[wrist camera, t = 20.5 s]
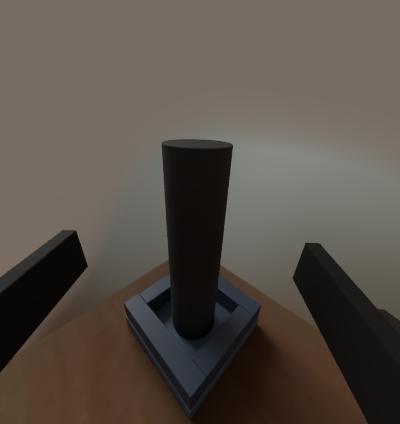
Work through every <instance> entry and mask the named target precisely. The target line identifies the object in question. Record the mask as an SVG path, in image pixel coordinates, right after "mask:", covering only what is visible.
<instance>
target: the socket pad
mask: <svg viewBox="0 0 400 424" xmlns="http://www.w3.org/2000/svg"><path fill="white" fill-rule="evenodd" d="M124 306H125V310H126V314H127V317H126V320H127V323H128V325H129V327H130V328H131V330H132V331H133V333H134V334H135V336H136V337H137V339H138V340H139V342H140V343H141V345H142V346H143V348H144V350H145V351H146V353H147V354H148V356H149V357H150V359H151V360H152V362H153V363H154V365H155V366H156V368H157V370H158V371H159V373H160V374H161V376H162V377H163V379H164V380H165V382H166V383H167V385H168V386H169V388H170V389H171V391H172V393H173V394H174V396H175V397H176V399H177V400H178V402H179V403H180V405H181V406H182V408H183V409H184V411H185V412H186V414H187V416H188V417H189V418H190V419H191V418H192V416H193V415H194V413H195V412H196V411H197V409H198V408H199V406H200V405H201V404H202V402H203V401H204V399H205V398H206V396H207V395H208V394H209V392H210V391H211V389H212V388H213V387H214V385H215V384H216V382H217V381H218V379H219V378H220V377H221V375H222V374H223V372H224V371H225V370H226V368H227V367H228V365H229V364H230V362H231V361H232V360H233V358H234V357H235V355H236V354H237V352H238V351H239V350H240V348H241V347H242V345H243V344H244V343H245V341H246V340H247V338H248V337H249V335H250V334H251V333H252V331H253V330H254V328H255V327H256V326H257V323H258V320H259V318H258V315H259V311H260V308H261V305H260V304H259V303H257V302H256V301H255V300H253V299H252V298H250V297H249V296H248V295H246V294H245V293H243V292H242V291H241V290H239V289H238V288H236V287H235V286H234V285H232V284H231V283H229V282H228V281H227V280H225V279H224V278H222V277H221V276H220V275H219V279H218V288H217V298H216V307H215V316H214V324H213V327H212V329H211V331H210V332H209V333H208V334H207V335H206V336H205V337H203V338H201V339H198V340H188V339H185V338H183V337H181V336H180V335H179V334H178V333H177V332H176V330H175V328H174V326H173V319H172V303H171V287H170V274H169V275H167V276H166V277H164V278H162V279H161V280H159V281H158V282H156V283H155V284H153V285H152V286H150V287H149V288H147V289H146V290H144V291H142V292H141V293H140V294H138V295H136V296H135V297H133V298H132V299H130V300H128V301H127V302H125V303H124Z"/></svg>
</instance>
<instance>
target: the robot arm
mask: <svg viewBox="0 0 400 424" xmlns="http://www.w3.org/2000/svg"><path fill="white" fill-rule="evenodd" d="M87 267H88V265H87V262H86V259H85V256H84V253H83V250H82V247H81V244H80V242H79V238H78V235H77V232H76V231H74V230H62V231H61V232H60V233H58V234H57V235H56V236H54V237H53V238H52V239H50V240H49V241H48V242H47V243H45V244H44V245H42V246H41V247H40V248H38V249H37V250H36V251H35V252H33V253H32V254H31V255H29V256H28V257H27V258H25V259H24V260H23V261H21V262H20V263H19V264H17V265H16V266H15V267H13V268H12V269H11V270H9V271H8V272H7V273H6V274H4V275H3V276H1V277H0V372H1V371H2V370H3V369H4V367H5V366H6V365H7V364H8V362H9V361H10V360H11V359H12V358H13V356H14V355H15V354H16V353H17V351H18V350H19V349H20V348H21V347H22V345H23V344H24V343H25V342H26V340H27V339H28V338H29V337H30V336H31V335H32V333H33V332H34V331H35V330H36V329H37V327H38V326H39V325H40V324H41V323H42V321H43V320H44V319H45V318H46V316H47V315H48V314H49V313H50V312H51V310H52V309H53V308H54V307H55V306H56V304H57V303H58V302H59V301H60V299H61V298H62V297H63V296H64V295H65V293H66V292H67V291H68V290H69V289H70V287H71V286H72V285H73V284H74V283H75V281H76V280H77V279H78V278H79V277H80V275H81V274H82V273H83V272H84V270H85V269H86V268H87ZM293 280H294V282H295V284H296V285H297V288H298V290H299V292H300V293H301V295H302V297H303V299H304V301H305V303H306V305H307V307H308V309H309V311H310V313H311V315H312V317H313V318H314V320H315V322H316V324H317V326H318V328H319V330H320V332H321V334H322V336H323V338H324V340H325V342H326V343H327V345H328V347H329V349H330V351H331V353H332V355H333V357H334V359H335V361H336V363H337V365H338V366H339V368H340V370H341V372H342V374H343V376H344V378H345V380H346V382H347V384H348V386H349V388H350V390H351V391H352V393H353V395H354V397H355V399H356V401H357V403H358V405H359V407H360V409H361V411H362V413H363V415H364V416H365V418H366V420H367V422H368V424H400V321H399V320H398V319H396V318H395V317H394V316H392V315H391V314H390V313H388V312H387V311H385V310H382V309H377V308H376V307H375V306H374V305H373V304H372V302H371V301H370V300H369V299H368V298H367V297H366V296H365V294H364V293H363V292H362V291H361V290H360V289H359V288H358V287H357V285H356V284H355V283H354V282H353V281H352V280H351V279H350V277H349V276H348V275H347V274H346V273H345V272H344V271H343V270H342V268H341V267H340V266H339V265H338V264H337V263H336V262H335V260H334V259H333V258H332V257H331V256H330V255H329V254H328V253H327V252H326V251H325V249H324V248H323V247H322V246H321V245H320V244H319V243H305V246H304V249H303V251H302V254H301V257H300V260H299V262H298V265H297V268H296V270H295V274H294V276H293Z"/></svg>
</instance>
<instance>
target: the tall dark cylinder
mask: <svg viewBox="0 0 400 424" xmlns="http://www.w3.org/2000/svg"><path fill="white" fill-rule="evenodd" d="M232 149H233V145H232V144H230V143H227V142H221V141H213V140H196V139H188V140H187V139H186V140H185V139H183V140H169V141H164V142H162V157H163V173H164V189H165V205H166V220H167V221H166V222H167V237H168V253H169V271H170V287H171V303H172V319H173V326H174V328H175V330H176V332H177V333H178V334H179V335H180V336H181V337H183V338H185V339H188V340H198V339H201V338H203V337H205V336H206V335H207V334H208V333H209V332H210V331H211V329H212V327H213V324H214V316H215V307H216V298H217V288H218V279H219V270H220V259H221V251H222V242H223V232H224V223H225V214H226V205H227V195H228V186H229V177H230V168H231V159H232Z"/></svg>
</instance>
